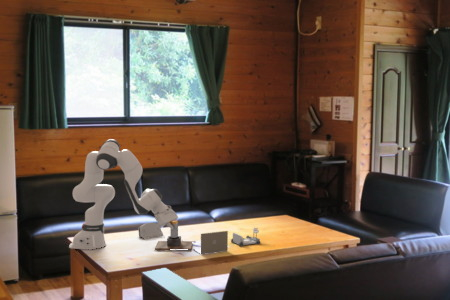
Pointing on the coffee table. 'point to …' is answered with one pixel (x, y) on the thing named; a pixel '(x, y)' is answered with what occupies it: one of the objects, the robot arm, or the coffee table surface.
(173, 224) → the toggle bar
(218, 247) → the laptop
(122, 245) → the coffee table surface
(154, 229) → the grey rounded block
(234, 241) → the toy car
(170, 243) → the keeper
